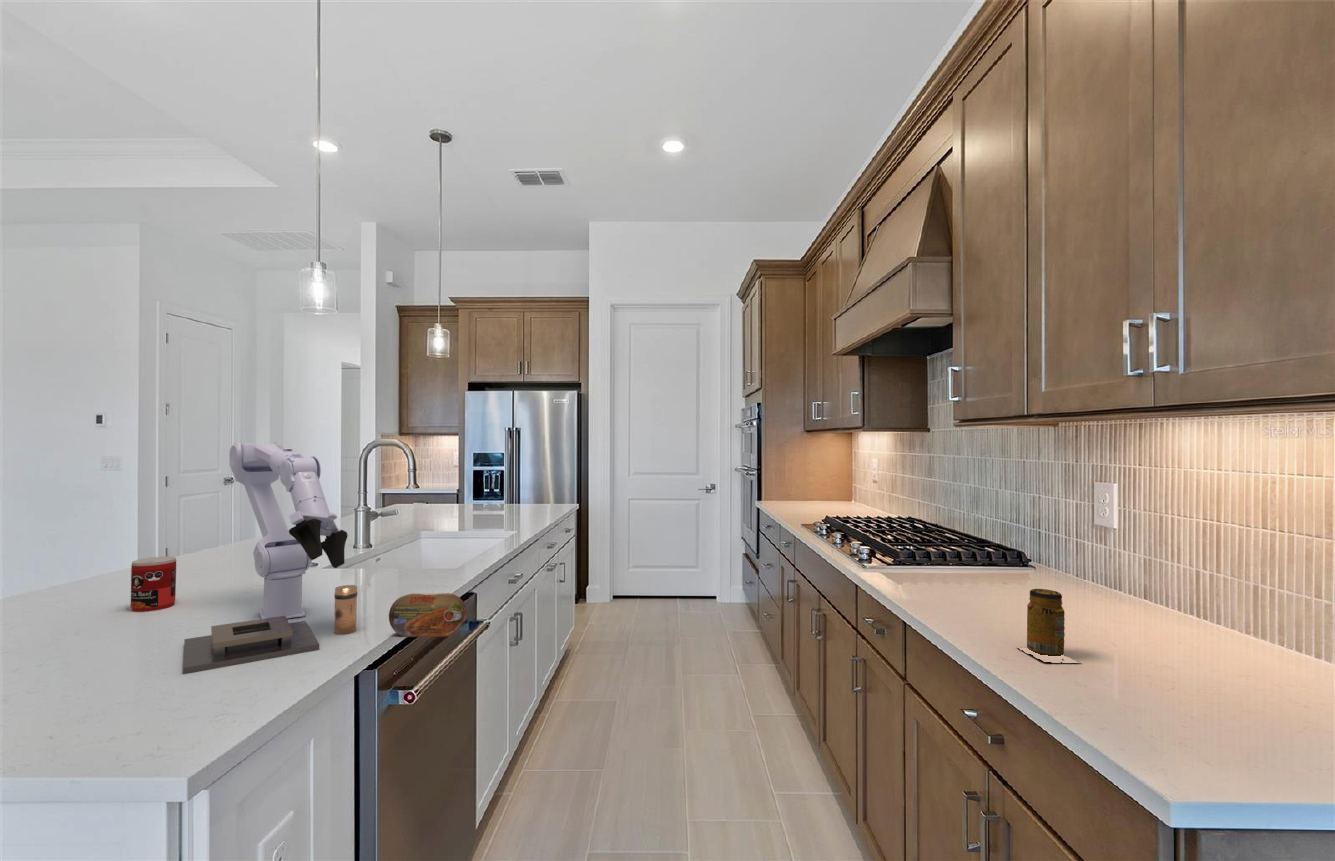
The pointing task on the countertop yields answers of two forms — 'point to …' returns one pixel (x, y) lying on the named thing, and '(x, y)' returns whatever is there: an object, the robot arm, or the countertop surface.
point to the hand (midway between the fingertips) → (328, 561)
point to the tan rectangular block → (345, 609)
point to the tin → (427, 615)
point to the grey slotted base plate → (247, 643)
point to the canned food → (153, 583)
